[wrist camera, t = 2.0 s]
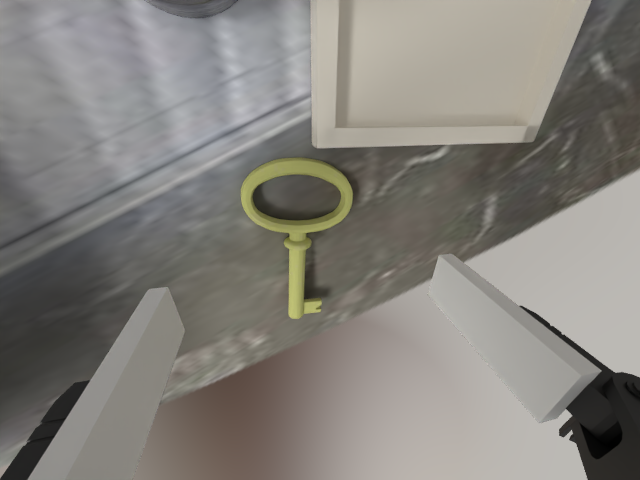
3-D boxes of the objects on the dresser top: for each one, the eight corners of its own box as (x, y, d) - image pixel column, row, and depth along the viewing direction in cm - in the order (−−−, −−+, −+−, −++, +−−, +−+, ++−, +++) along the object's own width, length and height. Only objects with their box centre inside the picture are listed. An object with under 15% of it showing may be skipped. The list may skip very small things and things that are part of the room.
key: (288, 307, 21) (292, 326, 19) (229, 171, 15) (226, 180, 13) (365, 280, 22) (374, 296, 20) (339, 139, 15) (350, 143, 13)
